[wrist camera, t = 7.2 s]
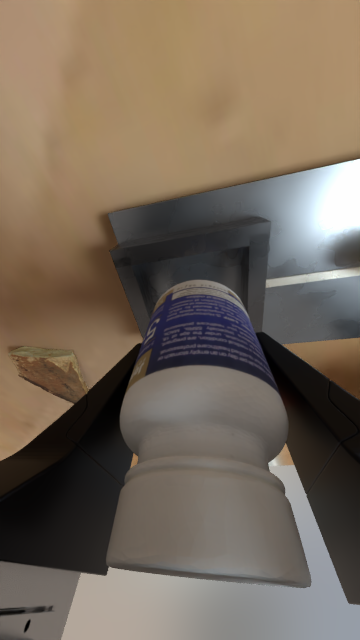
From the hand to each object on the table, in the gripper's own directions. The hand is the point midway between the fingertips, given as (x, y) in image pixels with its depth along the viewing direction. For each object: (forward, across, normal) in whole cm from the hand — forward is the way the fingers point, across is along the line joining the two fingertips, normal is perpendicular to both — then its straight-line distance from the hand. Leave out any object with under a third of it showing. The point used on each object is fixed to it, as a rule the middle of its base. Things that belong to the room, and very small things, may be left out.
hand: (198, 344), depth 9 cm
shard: (+7, +17, +9) cm, 20 cm away
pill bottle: (+2, 0, 0) cm, 2 cm away
